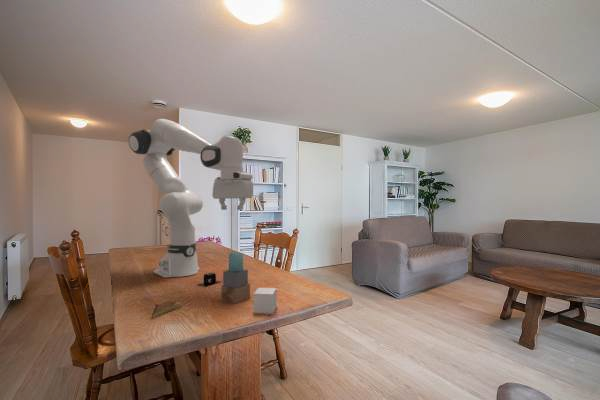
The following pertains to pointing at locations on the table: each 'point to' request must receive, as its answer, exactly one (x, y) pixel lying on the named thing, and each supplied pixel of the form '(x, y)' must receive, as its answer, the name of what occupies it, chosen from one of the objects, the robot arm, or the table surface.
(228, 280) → the tower upper block
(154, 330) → the table surface
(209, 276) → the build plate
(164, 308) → the shard
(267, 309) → the white cube
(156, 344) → the table surface
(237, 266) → the teal cylinder
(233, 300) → the tower lower block
